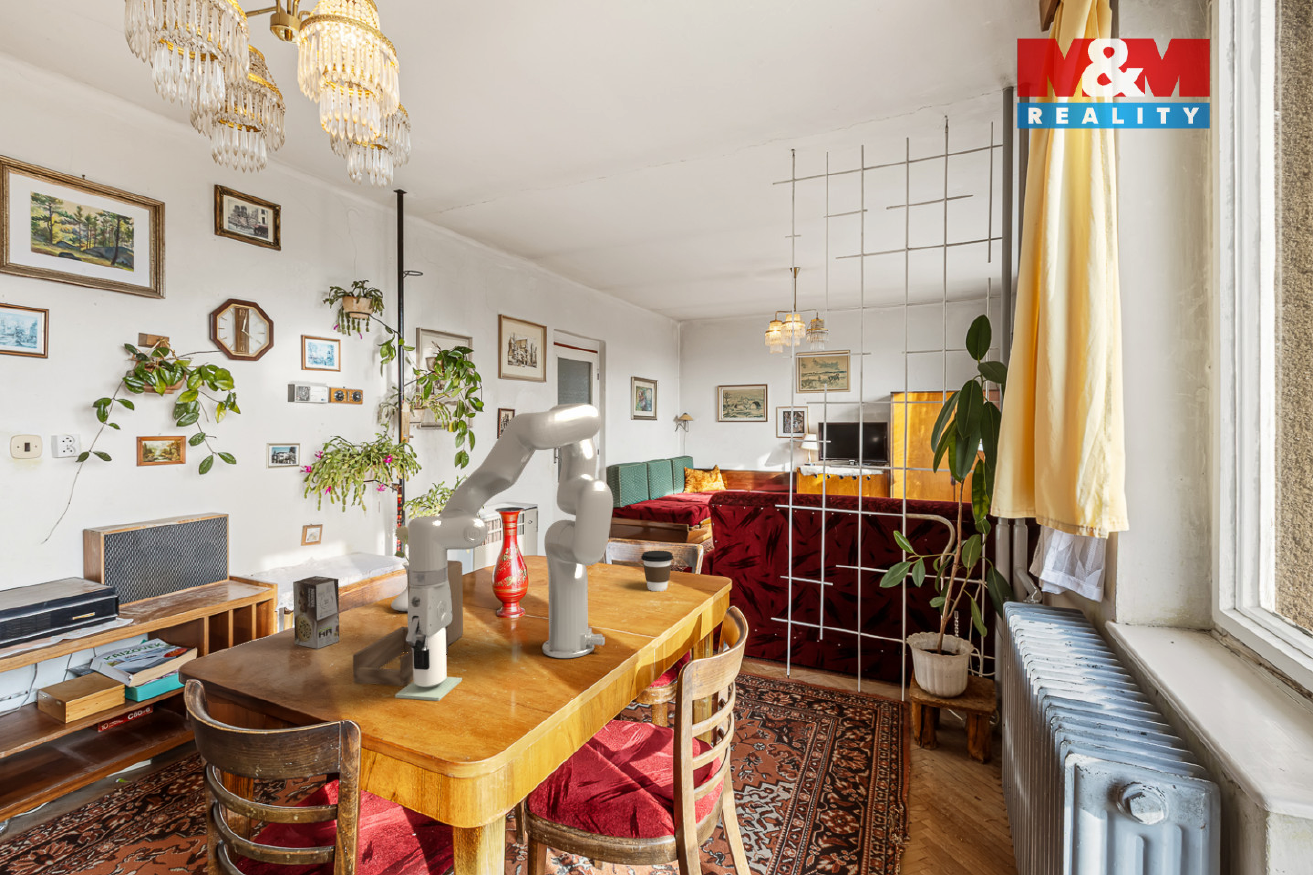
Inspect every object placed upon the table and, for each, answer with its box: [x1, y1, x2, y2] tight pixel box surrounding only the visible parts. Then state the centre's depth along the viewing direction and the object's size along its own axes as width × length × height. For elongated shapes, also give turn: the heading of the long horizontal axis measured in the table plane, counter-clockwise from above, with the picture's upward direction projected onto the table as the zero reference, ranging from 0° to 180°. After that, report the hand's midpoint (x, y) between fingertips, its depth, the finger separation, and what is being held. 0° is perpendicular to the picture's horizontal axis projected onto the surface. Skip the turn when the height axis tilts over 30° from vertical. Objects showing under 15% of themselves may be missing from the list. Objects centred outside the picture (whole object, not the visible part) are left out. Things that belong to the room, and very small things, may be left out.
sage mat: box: [394, 676, 463, 702], centre depth 123 cm, size 10×10×1 cm
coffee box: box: [292, 575, 340, 650], centre depth 150 cm, size 9×6×16 cm
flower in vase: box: [390, 525, 409, 612], centre depth 179 cm, size 13×11×25 cm
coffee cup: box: [640, 550, 674, 592], centre depth 198 cm, size 11×11×12 cm
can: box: [413, 628, 448, 687], centre depth 123 cm, size 6×6×12 cm
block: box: [408, 559, 464, 646], centre depth 150 cm, size 10×10×20 cm
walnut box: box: [352, 626, 449, 687], centre depth 134 cm, size 12×18×6 cm, turn 171°
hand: (430, 661), depth 123 cm, fingers closed on can, 5 cm apart
